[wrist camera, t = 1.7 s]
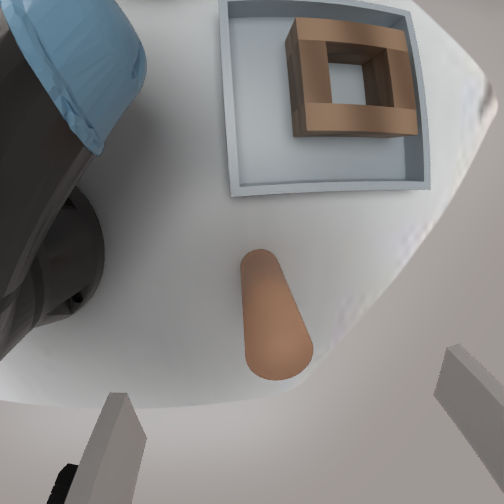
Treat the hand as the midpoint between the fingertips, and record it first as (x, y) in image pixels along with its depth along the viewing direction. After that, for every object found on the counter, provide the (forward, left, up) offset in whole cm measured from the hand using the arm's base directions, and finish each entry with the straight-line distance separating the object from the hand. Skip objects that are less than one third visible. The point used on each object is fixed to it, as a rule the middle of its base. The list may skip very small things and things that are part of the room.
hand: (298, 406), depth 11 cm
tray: (+6, +15, -19) cm, 25 cm away
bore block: (+8, +15, -19) cm, 25 cm away
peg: (0, -1, -19) cm, 19 cm away
